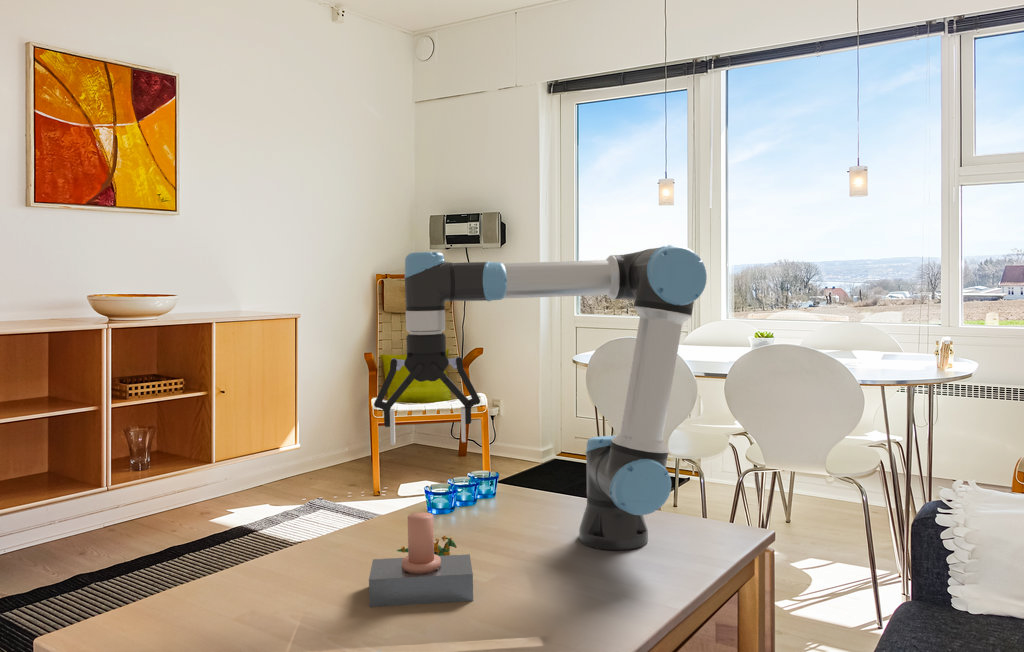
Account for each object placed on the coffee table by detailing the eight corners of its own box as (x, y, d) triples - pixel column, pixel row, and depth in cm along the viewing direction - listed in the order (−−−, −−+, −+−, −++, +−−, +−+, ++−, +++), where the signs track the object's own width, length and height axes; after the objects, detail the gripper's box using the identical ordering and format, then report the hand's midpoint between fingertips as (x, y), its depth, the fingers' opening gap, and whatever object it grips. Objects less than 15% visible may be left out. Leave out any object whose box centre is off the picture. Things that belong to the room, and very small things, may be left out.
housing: (470, 585, 144) (469, 554, 144) (473, 607, 134) (472, 573, 134) (373, 590, 142) (373, 559, 142) (369, 613, 132) (368, 579, 132)
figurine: (458, 571, 152) (457, 530, 151) (397, 577, 149) (396, 535, 149) (455, 565, 155) (455, 526, 154) (396, 571, 152) (395, 531, 152)
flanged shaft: (441, 582, 142) (439, 509, 142) (441, 598, 135) (440, 521, 135) (403, 584, 141) (401, 511, 141) (401, 600, 134) (400, 522, 134)
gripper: (489, 330, 152) (491, 436, 153) (362, 333, 149) (365, 440, 151) (492, 332, 144) (494, 443, 146) (358, 335, 142) (361, 448, 143)
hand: (428, 442), depth 148 cm, fingers open, 13 cm apart
